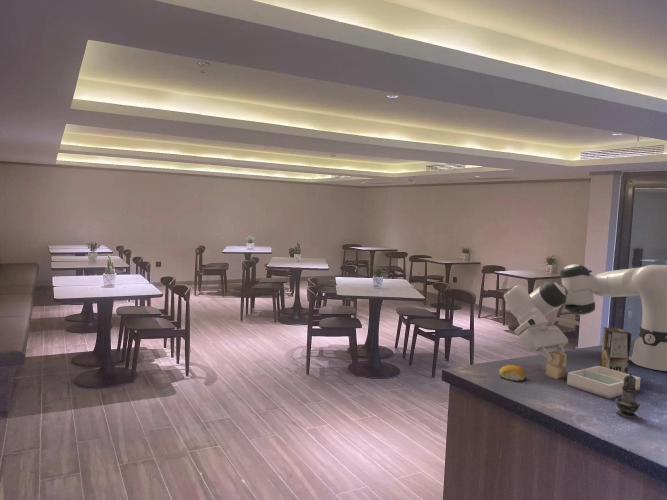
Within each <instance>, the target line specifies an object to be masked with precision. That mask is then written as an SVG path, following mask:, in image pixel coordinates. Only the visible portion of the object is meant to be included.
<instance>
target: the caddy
mask: <svg viewBox="0 0 667 500" xmlns="http://www.w3.org/2000/svg"><path fill="white" fill-rule="evenodd" d="M629 374H630V373H628V374H626V373H622V372H619V371H615V370H612V369H608V368H605V367H601V366H600V365H596V366H592V367H586V368H582V369H578V370H573V371H569V372H567V377H566V379H567V380H566V386H571V387H573V388H575V389H579V390H582V391H585V392H588V393H591V394H593V395H595V396H596V395H598V396H600V397H602V398H606V399H609V400H610V399H613V398H617V397H621V396H622V391H623V389H622V387H623V384H624V377H625V376H628V375H629ZM631 376H633V377H634V378H635V379H636V384H635V389H636V390H637V391H640V389H641V377H639V376H635V375H634V374H632V375H631Z"/></svg>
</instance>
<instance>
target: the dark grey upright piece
mask: <svg viewBox="0 0 667 500" xmlns="http://www.w3.org/2000/svg"><path fill="white" fill-rule="evenodd" d="M628 374H629V375H628V376H625V377H624V384H623V387H622V389H623V391H622V395H620V398H619V397H618V398H616V399H615V403H616V406H617V408H618V410H616V411H615V414H616V415H617V416H619V417H622V418H626V419H630V420H631V419H634V420H635V419H638V415H637V414H636V412H637V411H638V410H639V407H640V406H641V404H640V403H639V402H637V401H636V392H637V391H638V390H636V389H635V384H636V379H635V378H634V377H633V376H634V375H633V374H632V372H629V373H628ZM631 375H633V376H631Z"/></svg>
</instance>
